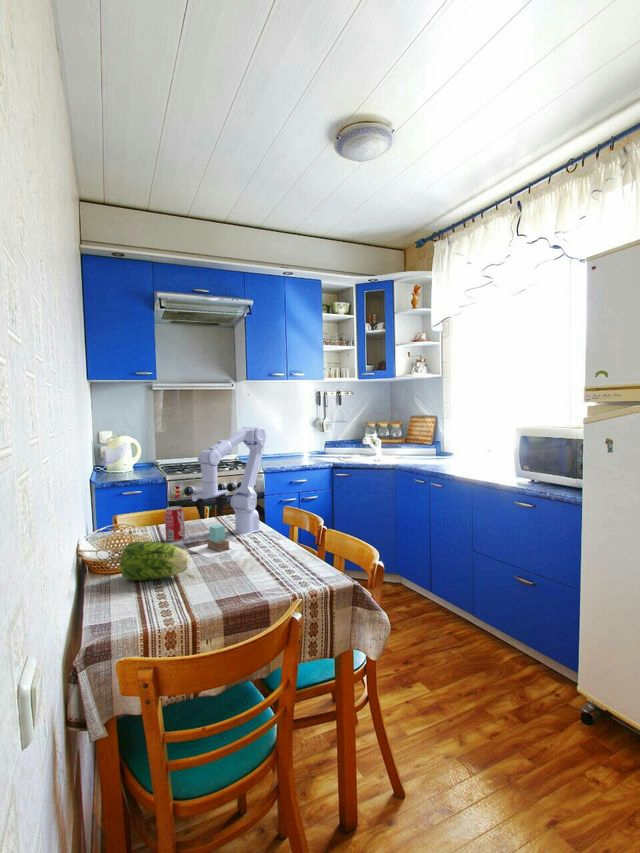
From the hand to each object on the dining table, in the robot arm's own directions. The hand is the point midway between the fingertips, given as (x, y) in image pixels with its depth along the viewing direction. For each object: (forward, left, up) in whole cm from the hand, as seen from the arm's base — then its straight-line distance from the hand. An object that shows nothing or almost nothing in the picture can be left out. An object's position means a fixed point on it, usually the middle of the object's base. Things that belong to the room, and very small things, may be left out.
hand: (211, 516), depth 174 cm
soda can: (+8, -14, -11) cm, 19 cm away
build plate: (+3, +8, -10) cm, 13 cm away
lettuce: (+31, +19, -11) cm, 37 cm away
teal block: (+3, +8, -7) cm, 11 cm away
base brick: (+3, +9, -10) cm, 13 cm away
